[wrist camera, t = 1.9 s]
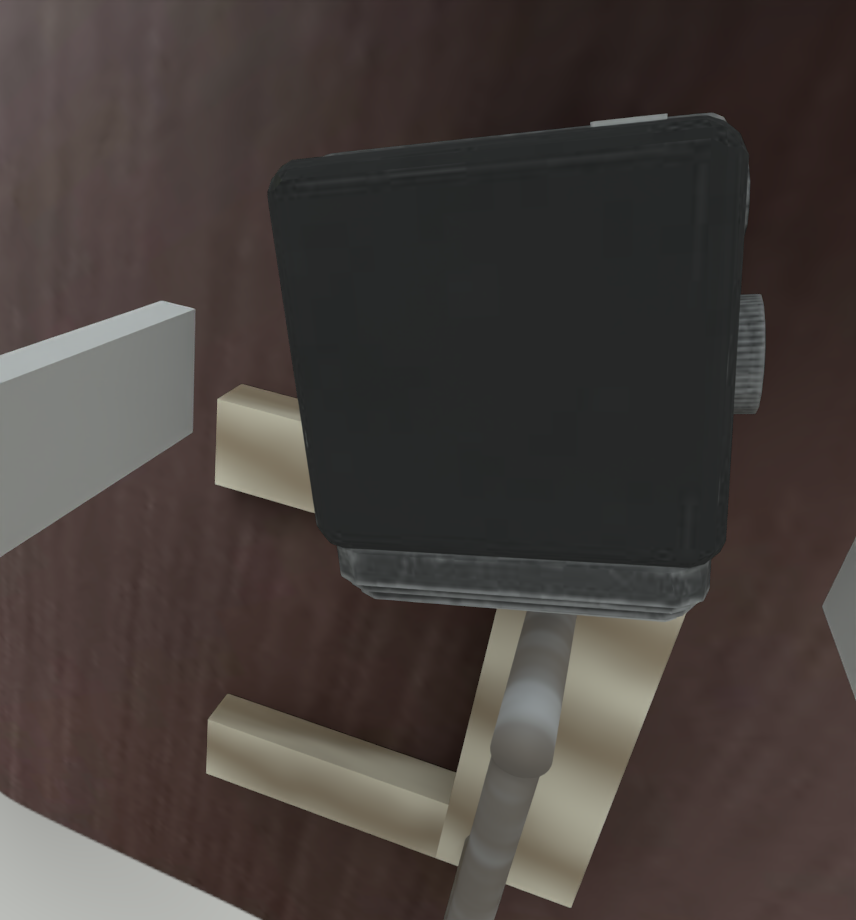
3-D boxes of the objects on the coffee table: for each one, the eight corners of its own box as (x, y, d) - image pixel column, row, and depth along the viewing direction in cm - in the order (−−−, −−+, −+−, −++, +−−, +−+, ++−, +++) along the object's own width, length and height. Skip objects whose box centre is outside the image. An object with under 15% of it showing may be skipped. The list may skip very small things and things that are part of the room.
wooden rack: (241, 383, 32) (11, 527, 21) (713, 507, 28) (750, 763, 17) (225, 746, 42) (63, 978, 30) (574, 872, 38) (539, 1189, 27)
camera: (450, 425, 30) (290, 658, 17) (425, 144, 26) (189, 165, 13) (725, 427, 27) (787, 711, 14) (744, 110, 23) (857, 92, 10)
